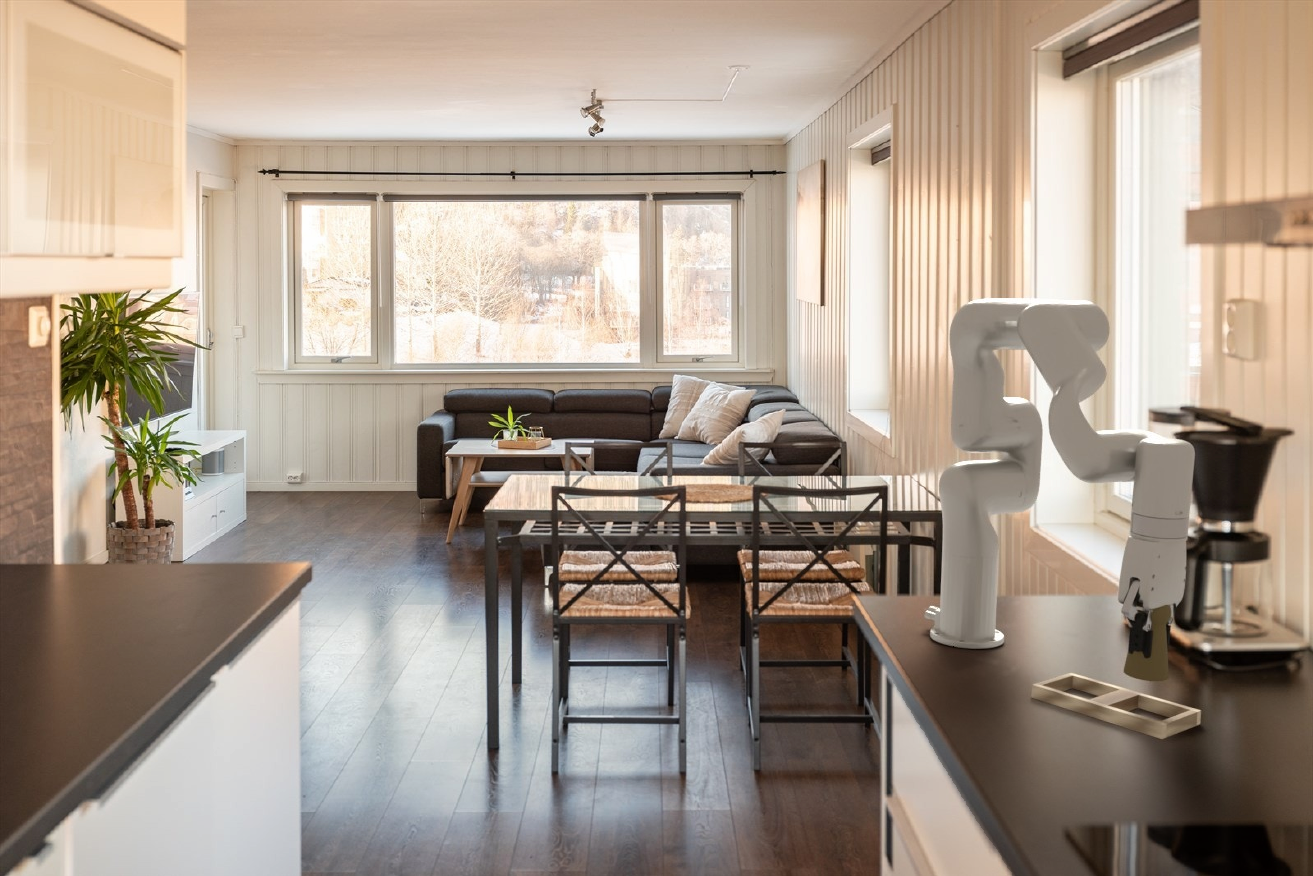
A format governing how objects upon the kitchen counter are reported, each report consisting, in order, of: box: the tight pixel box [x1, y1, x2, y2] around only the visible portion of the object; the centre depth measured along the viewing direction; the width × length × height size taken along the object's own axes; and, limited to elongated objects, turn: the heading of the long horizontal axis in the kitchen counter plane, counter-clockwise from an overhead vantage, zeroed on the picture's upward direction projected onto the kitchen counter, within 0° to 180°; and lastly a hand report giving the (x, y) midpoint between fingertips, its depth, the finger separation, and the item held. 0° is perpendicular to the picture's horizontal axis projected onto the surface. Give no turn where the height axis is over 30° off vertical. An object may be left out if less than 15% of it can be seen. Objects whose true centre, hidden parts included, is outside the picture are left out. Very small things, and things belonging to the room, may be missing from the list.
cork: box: [1123, 602, 1171, 682], centre depth 170 cm, size 6×6×11 cm
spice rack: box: [1030, 672, 1202, 740], centre depth 175 cm, size 21×10×2 cm, turn 37°
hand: (1148, 651), depth 171 cm, fingers closed on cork, 3 cm apart
